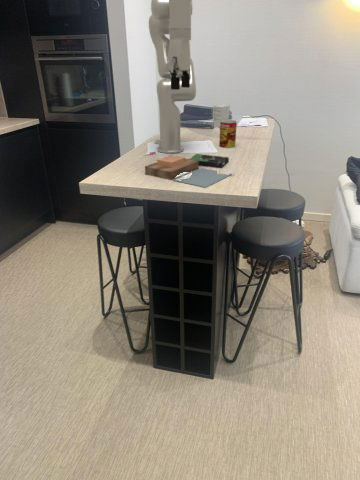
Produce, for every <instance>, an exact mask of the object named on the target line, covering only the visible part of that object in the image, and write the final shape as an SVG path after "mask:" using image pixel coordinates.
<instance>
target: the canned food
mask: <svg viewBox="0 0 360 480" xmlns="http://www.w3.org/2000/svg"><path fill="white" fill-rule="evenodd" d="M237 122H238V121H237V120H234V119H229V120H222V121H220V128H219V145H218V146H219V147H220V148H222V149H232V148H235V147H236V141H237Z"/></svg>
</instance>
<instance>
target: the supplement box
mask: <svg viewBox="0 0 360 480" xmlns="http://www.w3.org/2000/svg"><path fill="white" fill-rule="evenodd" d="M222 120H230V105H226V104H217V105H213V107H212V123H213V122H214V126H215V127H214V128H216V127H218V128H217V129H220V121H222Z"/></svg>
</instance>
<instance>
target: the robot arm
mask: <svg viewBox="0 0 360 480" xmlns="http://www.w3.org/2000/svg"><path fill="white" fill-rule="evenodd" d="M150 2H151V3H150V10H151V11H150V12H151V15H150V16H149V19H148V30H149V35H150V39H151V41H152V44H153V47H154V48H155V51H156V52H155V53H156V54H155V55H156V62H157V63H156V65H157V70H158V71H157V72H158V74H159V77H161V78H162V79H160V80H159V81H158V82H157V83H156V94H157V98H158V99H157V100H158V111H159V113H158V114H159V136H160V137H159V138H160V139H156V140H155V141H154V144H155V145H158V147H157V149H156V150H157V152H160V153H163V154H178V153H182V152H184V150H185V149H184V148H185V147H183V146H182V145H181V111H180V108H179V107H178V106H177V105H176V103H175V102H191V101H193V100H194V99H195V98H196V95H197V86H196V78H195V70H194V69H195V67H194V62H193V59H192V58H191V45H190V43H191V42H190V41H192V15H193V9H194V7H193V0H151V1H150ZM166 35H169V37H167V36H166Z"/></svg>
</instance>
